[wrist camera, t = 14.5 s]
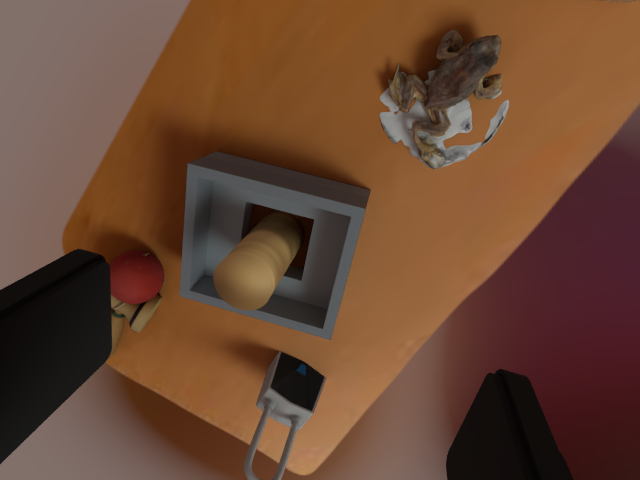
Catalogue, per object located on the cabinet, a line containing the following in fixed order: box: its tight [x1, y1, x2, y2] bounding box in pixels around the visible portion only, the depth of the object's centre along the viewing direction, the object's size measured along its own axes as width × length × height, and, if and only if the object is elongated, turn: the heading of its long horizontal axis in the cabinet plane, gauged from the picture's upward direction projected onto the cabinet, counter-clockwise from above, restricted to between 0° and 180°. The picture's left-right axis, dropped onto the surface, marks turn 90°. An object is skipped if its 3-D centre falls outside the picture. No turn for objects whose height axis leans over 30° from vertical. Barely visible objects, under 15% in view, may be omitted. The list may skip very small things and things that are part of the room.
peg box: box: [180, 151, 371, 340], centre depth 39 cm, size 14×16×6 cm
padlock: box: [244, 351, 326, 480], centre depth 42 cm, size 7×4×15 cm, turn 61°
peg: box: [213, 211, 304, 311], centre depth 37 cm, size 5×5×11 cm
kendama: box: [109, 250, 164, 358], centre depth 48 cm, size 8×6×18 cm
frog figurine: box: [379, 30, 509, 169], centre depth 33 cm, size 12×12×4 cm
